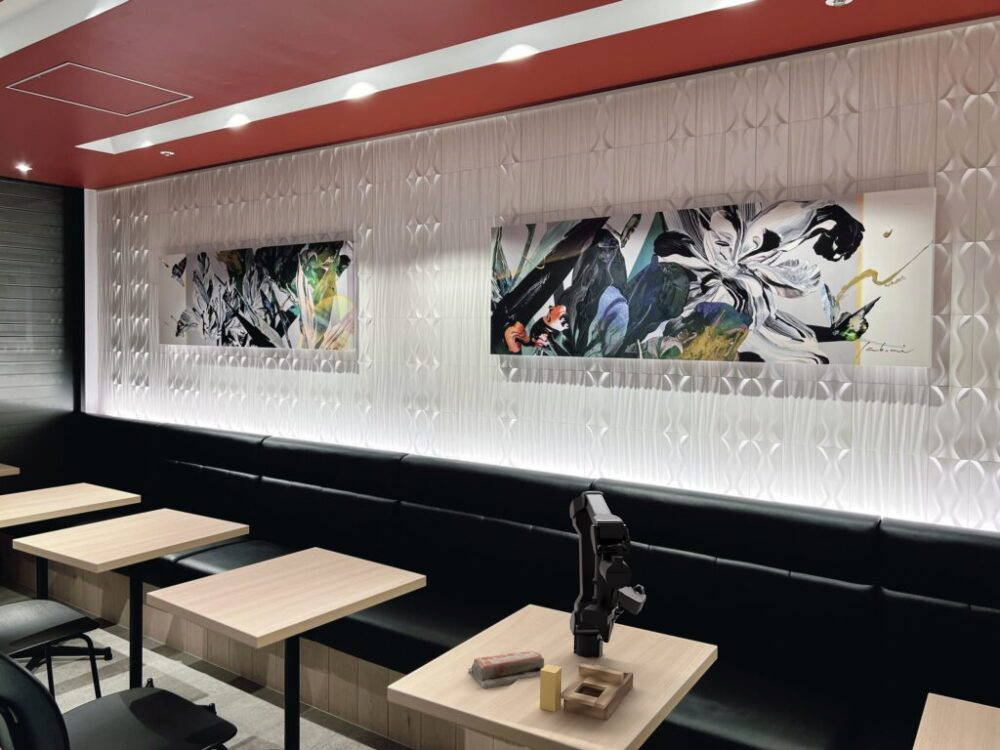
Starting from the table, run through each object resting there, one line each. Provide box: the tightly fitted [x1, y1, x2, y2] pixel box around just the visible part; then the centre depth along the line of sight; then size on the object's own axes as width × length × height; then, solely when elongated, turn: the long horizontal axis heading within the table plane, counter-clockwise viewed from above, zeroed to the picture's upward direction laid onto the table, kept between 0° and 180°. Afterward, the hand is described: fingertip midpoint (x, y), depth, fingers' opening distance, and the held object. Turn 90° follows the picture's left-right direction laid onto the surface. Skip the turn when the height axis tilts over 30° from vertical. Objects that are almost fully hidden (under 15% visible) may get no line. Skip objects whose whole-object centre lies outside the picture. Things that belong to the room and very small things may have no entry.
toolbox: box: [562, 663, 634, 721], centre depth 176 cm, size 10×18×4 cm, turn 153°
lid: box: [560, 663, 624, 709], centre depth 172 cm, size 10×13×3 cm
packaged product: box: [468, 650, 545, 689], centre depth 189 cm, size 18×5×10 cm
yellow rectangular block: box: [539, 663, 562, 712], centre depth 171 cm, size 4×4×9 cm
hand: (606, 642), depth 179 cm, fingers closed
